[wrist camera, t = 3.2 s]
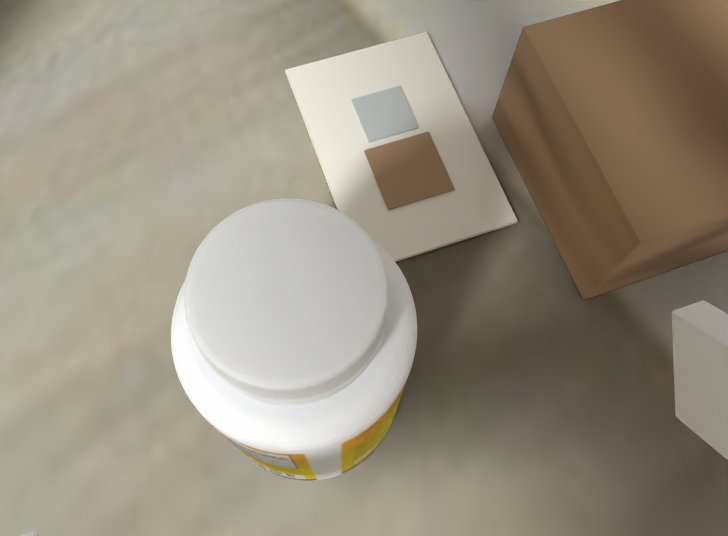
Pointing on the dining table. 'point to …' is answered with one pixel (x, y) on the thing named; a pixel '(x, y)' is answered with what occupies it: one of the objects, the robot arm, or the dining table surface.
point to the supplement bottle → (295, 336)
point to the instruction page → (399, 147)
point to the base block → (624, 135)
